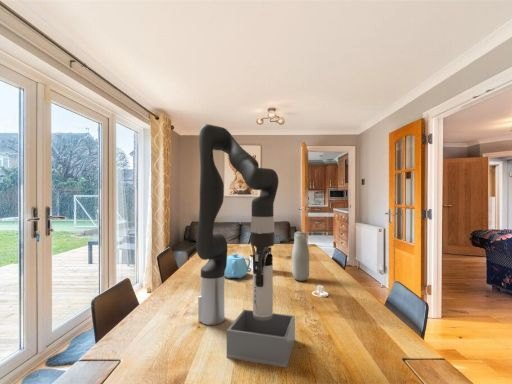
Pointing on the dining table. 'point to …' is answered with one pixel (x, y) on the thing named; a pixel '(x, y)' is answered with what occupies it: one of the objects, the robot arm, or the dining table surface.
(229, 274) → the decorative pot
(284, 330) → the crate
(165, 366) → the dining table surface
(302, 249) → the grey bottle
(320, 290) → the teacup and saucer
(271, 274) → the travel mug
